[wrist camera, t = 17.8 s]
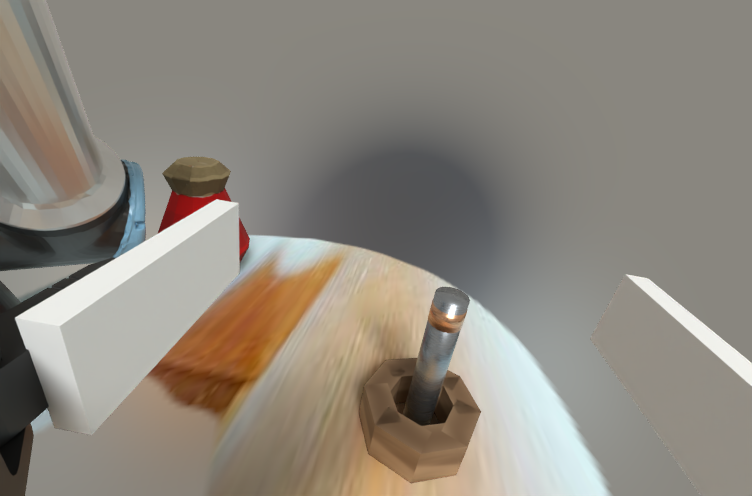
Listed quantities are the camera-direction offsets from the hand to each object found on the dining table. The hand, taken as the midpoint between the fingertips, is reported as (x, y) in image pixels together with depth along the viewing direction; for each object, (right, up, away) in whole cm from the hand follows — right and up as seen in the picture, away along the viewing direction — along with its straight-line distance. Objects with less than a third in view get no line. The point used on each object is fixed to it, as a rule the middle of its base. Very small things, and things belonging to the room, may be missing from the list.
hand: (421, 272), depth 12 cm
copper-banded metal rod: (+3, -20, +28) cm, 34 cm away
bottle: (-31, -4, +49) cm, 58 cm away
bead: (+3, -20, +28) cm, 34 cm away
